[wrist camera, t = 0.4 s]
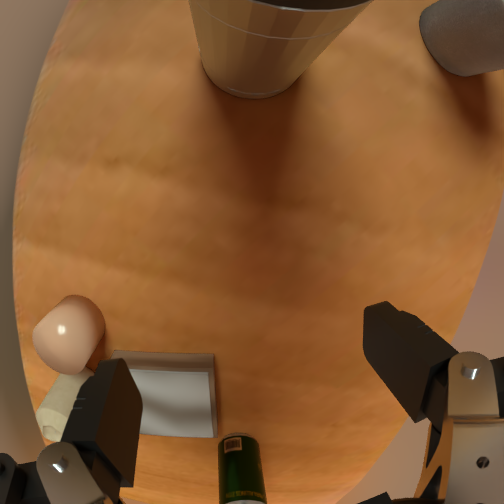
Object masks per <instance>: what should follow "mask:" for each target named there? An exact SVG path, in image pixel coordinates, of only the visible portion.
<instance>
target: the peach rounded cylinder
mask: <svg viewBox="0 0 504 504" xmlns="http://www.w3.org/2000/svg"><path fill="white" fill-rule="evenodd" d="M104 332H105V320H104V317H103V315H102V313H101V311H100V310H99V308H98V307H97V306H96V305H95V304H94V303H93V302H92V301H91V300H89V299H87V298H86V297H83V296H80V295H69V296H67V297H65V298H64V299H63V300H62V301H61V302H59V303H58V304H57V305H56V306H55V307H54V308H53V309H52V310H51V311H50V312H49V313H48V314H47V315H46V316H45V317H44V318H43V319H42V320H41V321H40V322H39V323H38V324H37V325H36V327H35V328H34V331H33V344H34V347H35V349H36V351H37V353H38V355H39V356H40V358H41V359H42V360H43V361H44V362H45V363H46V364H47V365H48V366H49V367H50V368H52V369H53V370H55V371H57V372H59V373H62V374H65V375H74V374H78V373H79V372H81V371H82V370H83V368H84V367H85V365H86V363H87V362H88V360H89V358H90V357H91V355H92V353H93V352H94V350H95V348H96V347H97V345H98V343H99V342H100V340H101V338H102V337H103V335H104Z"/></svg>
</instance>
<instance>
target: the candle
mask: <svg viewBox="0 0 504 504" xmlns="http://www.w3.org/2000/svg"><path fill="white" fill-rule="evenodd" d="M94 374H95V373H94V372H93V371H91V370H90V369H89V368H87V367H84V368H83V370H82V371H81V372H79V373H78V374H74V375H65V374H62V373H60V375H59V376H58V378H57V380H56V381H55V383H54V384H53V386H52V387H51V389H50V391H49V392H48V394H47V395H46V397H45V398H44V400H43V402H42V403H41V405H40V407H39V408H38V410H37V412H36V419H37V422H38V424H39V426H40V429H41V431H42V434H43V436H44V437H45V438H47V439H49V440H51V441H56V442H60V440H61V437H62V434H63V431H64V428H65V426H66V423H67V420H68V417H69V415H70V412H71V410H72V409H73V404H74V402H75V400H76V397H77V394H78V392H79V389H80V387H81V386H82V384H83V383H84V382H85V381H86V380H87V379H88V378H89V377H90V376H94Z"/></svg>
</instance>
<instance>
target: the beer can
mask: <svg viewBox="0 0 504 504" xmlns="http://www.w3.org/2000/svg"><path fill="white" fill-rule="evenodd" d="M218 470H219V504H267V499H266V492H265V486H264V479H263V472H262V465H261V458H260V451H259V444H258V443H257V441H256V440H255V438H254V437H252V436H251V435H249V434H246V433H232V434H229V435H227V436H225V437H224V438H222V440H221V441H220V443H219V445H218Z"/></svg>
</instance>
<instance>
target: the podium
mask: <svg viewBox="0 0 504 504" xmlns="http://www.w3.org/2000/svg"><path fill="white" fill-rule="evenodd" d="M116 358H123V359H124V360H125V362H126V364H127V366H128V368H129V370H130V373H131V375H132V377H133V379H134V381H135V383H136V385H137V387H138V389H139V391H140V394H141V397H142V402H143V412H142V419H141V426H140V433H139V434H148V435H160V436H175V437H201V438H218V419H217V404H216V389H215V372H214V354H185V353H154V352H135V351H120V350H114V352H113V354H112V356H111V358H110V359H116Z"/></svg>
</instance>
